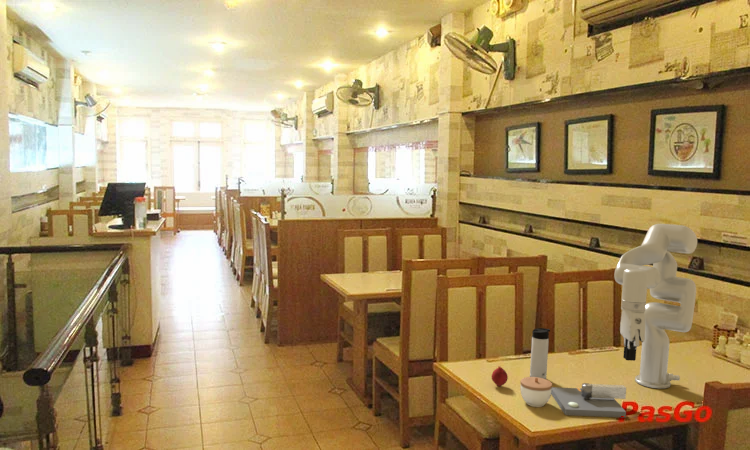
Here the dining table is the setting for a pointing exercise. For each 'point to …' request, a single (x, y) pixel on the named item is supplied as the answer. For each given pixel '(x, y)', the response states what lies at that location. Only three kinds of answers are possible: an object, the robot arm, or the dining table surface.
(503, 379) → the onion
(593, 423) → the dining table surface
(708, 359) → the dining table surface
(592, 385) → the light grey rectangular bar
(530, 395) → the lidded jar
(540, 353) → the travel mug
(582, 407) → the base
